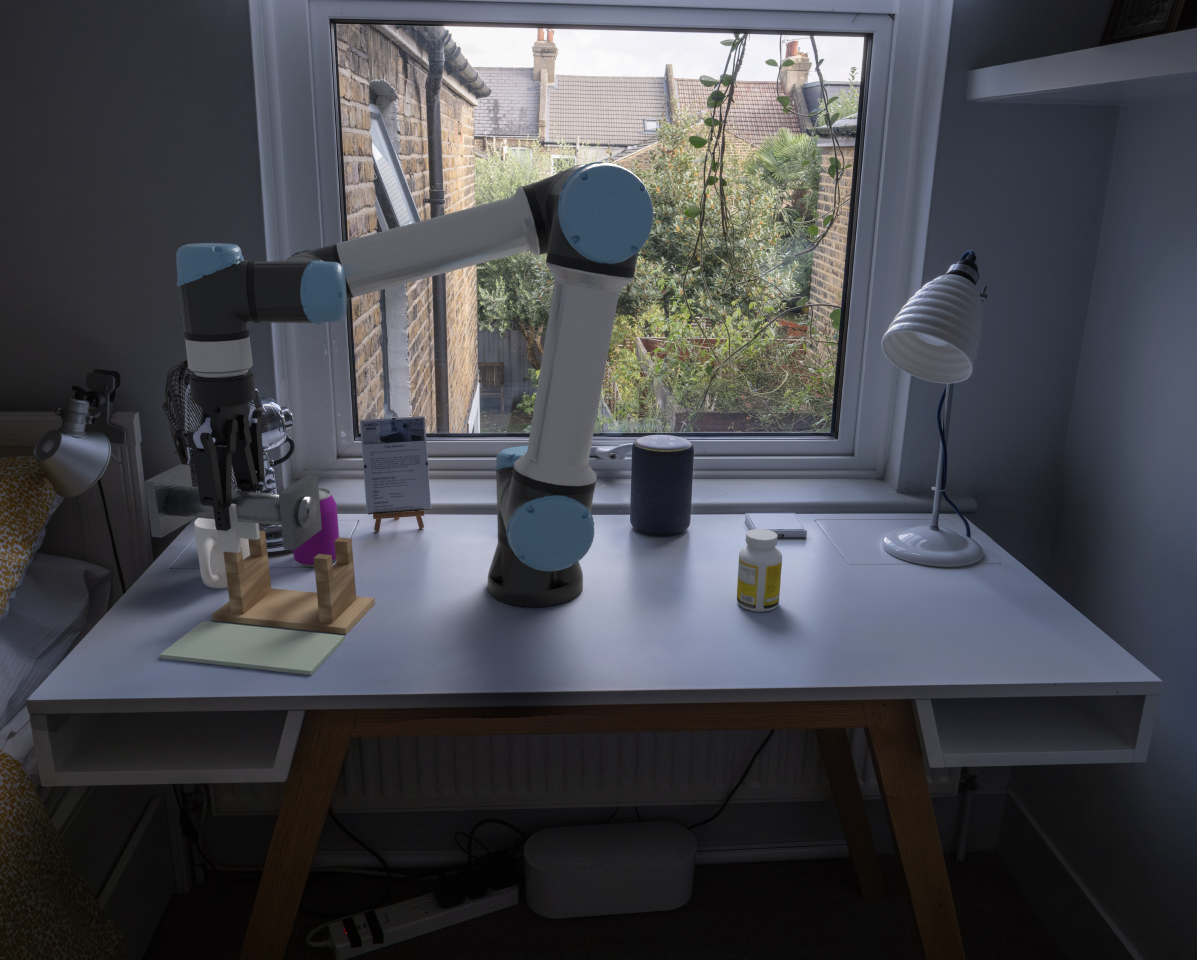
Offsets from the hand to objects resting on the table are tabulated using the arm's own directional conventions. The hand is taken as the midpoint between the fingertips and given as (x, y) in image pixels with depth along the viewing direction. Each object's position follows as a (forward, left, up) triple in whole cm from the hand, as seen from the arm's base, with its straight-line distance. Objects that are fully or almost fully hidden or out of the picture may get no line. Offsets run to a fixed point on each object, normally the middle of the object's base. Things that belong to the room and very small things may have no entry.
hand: (239, 544), depth 123 cm
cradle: (0, -12, -16) cm, 20 cm away
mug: (+16, -19, -16) cm, 29 cm away
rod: (0, 0, +2) cm, 2 cm away
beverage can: (+6, -31, -16) cm, 35 cm away
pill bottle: (-68, -29, -16) cm, 76 cm away
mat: (0, 0, -16) cm, 16 cm away
